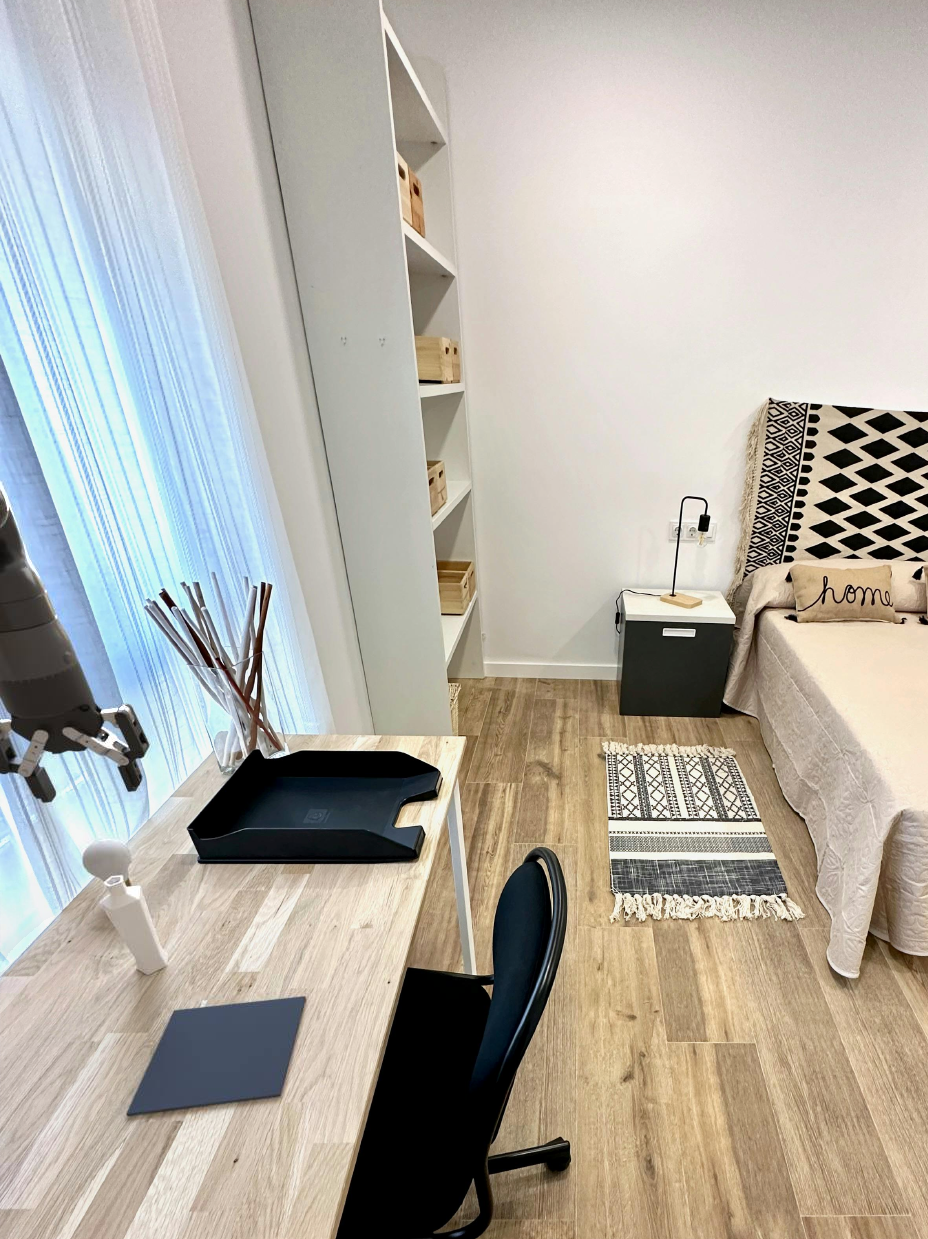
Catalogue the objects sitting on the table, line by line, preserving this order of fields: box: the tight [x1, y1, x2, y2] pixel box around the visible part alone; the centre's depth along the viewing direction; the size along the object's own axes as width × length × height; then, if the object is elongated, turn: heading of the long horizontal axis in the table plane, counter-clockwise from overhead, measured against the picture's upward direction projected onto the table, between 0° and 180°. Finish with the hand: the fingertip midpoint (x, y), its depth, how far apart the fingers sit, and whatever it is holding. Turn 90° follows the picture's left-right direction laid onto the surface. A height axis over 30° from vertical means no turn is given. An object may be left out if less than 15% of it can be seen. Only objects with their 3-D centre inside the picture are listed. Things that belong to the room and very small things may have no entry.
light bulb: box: [81, 838, 133, 887], centre depth 99 cm, size 6×6×10 cm
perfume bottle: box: [99, 875, 169, 976], centre depth 86 cm, size 5×4×15 cm
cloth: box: [125, 995, 307, 1117], centre depth 79 cm, size 16×14×1 cm
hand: (92, 793), depth 77 cm, fingers open, 8 cm apart
